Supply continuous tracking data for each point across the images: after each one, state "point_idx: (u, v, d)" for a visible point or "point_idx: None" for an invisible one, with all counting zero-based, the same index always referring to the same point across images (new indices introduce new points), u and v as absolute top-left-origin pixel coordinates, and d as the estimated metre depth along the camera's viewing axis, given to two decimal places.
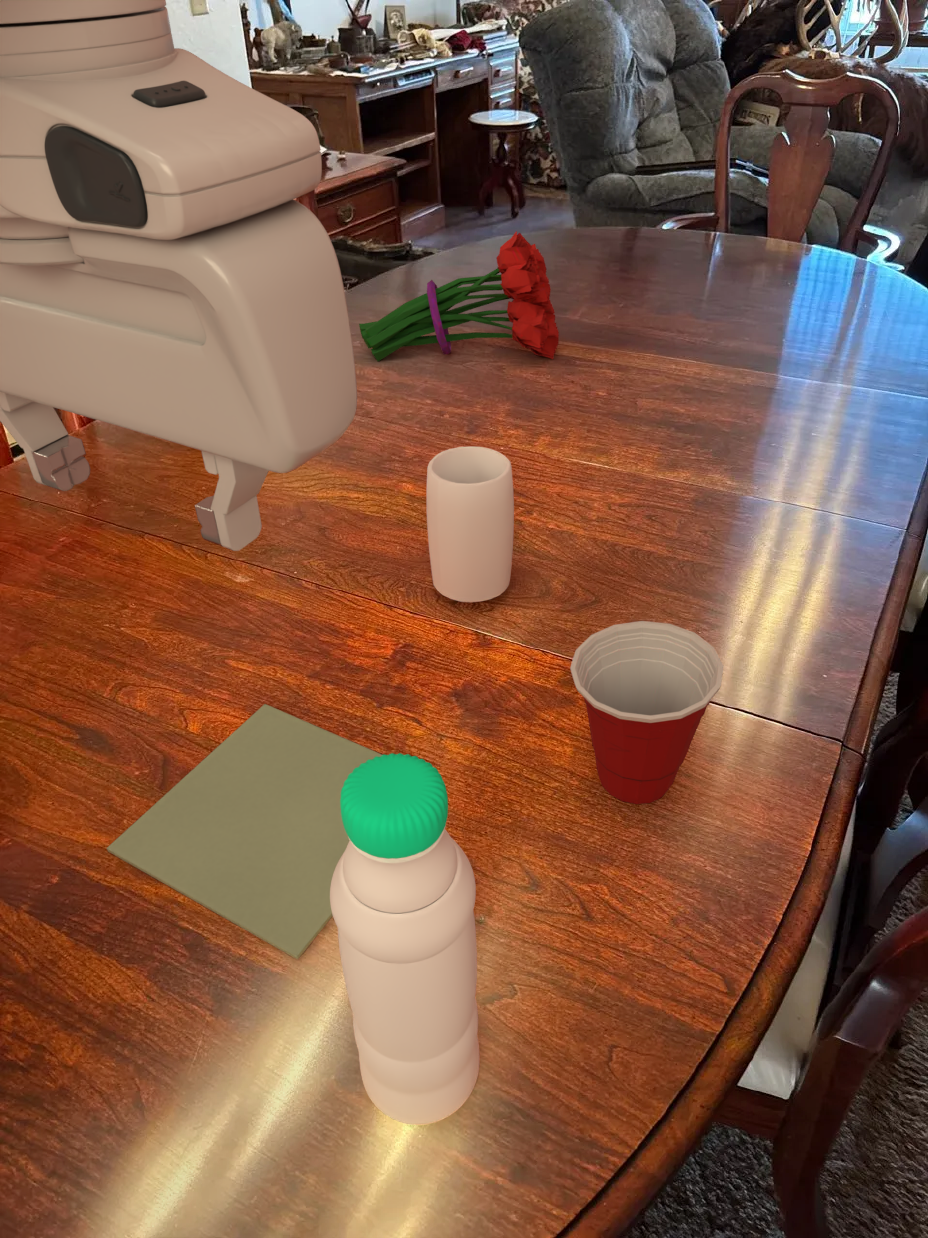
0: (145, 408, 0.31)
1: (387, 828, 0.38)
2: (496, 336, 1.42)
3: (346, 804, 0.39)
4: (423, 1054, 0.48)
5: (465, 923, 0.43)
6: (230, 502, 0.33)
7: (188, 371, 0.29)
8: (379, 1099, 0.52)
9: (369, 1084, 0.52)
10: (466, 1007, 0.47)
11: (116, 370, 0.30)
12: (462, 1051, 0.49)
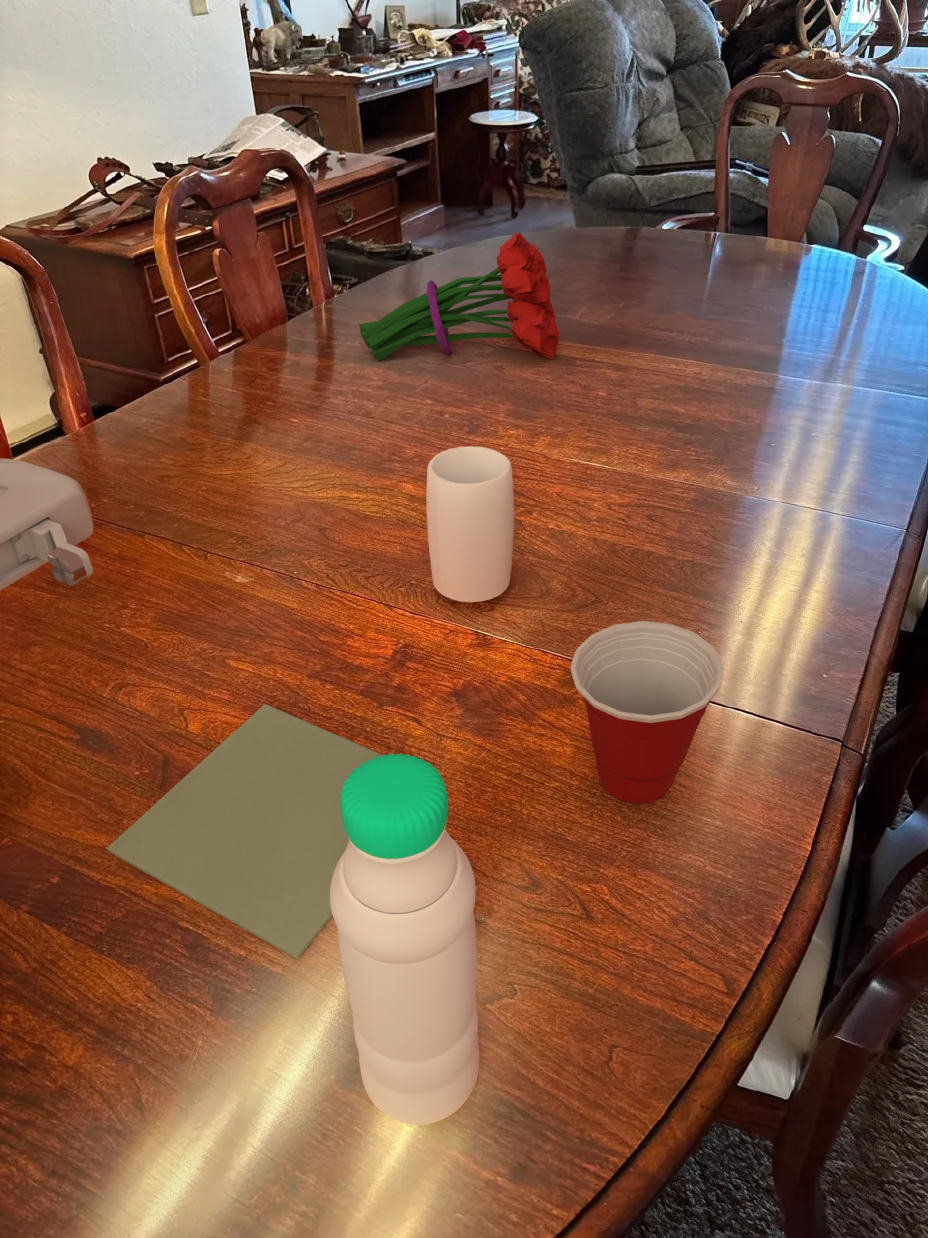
0: None
1: (387, 828, 0.38)
2: (496, 336, 1.42)
3: (345, 805, 0.39)
4: (423, 1054, 0.48)
5: (465, 923, 0.43)
6: (64, 534, 0.55)
7: (6, 498, 0.56)
8: (379, 1099, 0.52)
9: (369, 1084, 0.52)
10: (466, 1007, 0.47)
11: None
12: (462, 1051, 0.49)
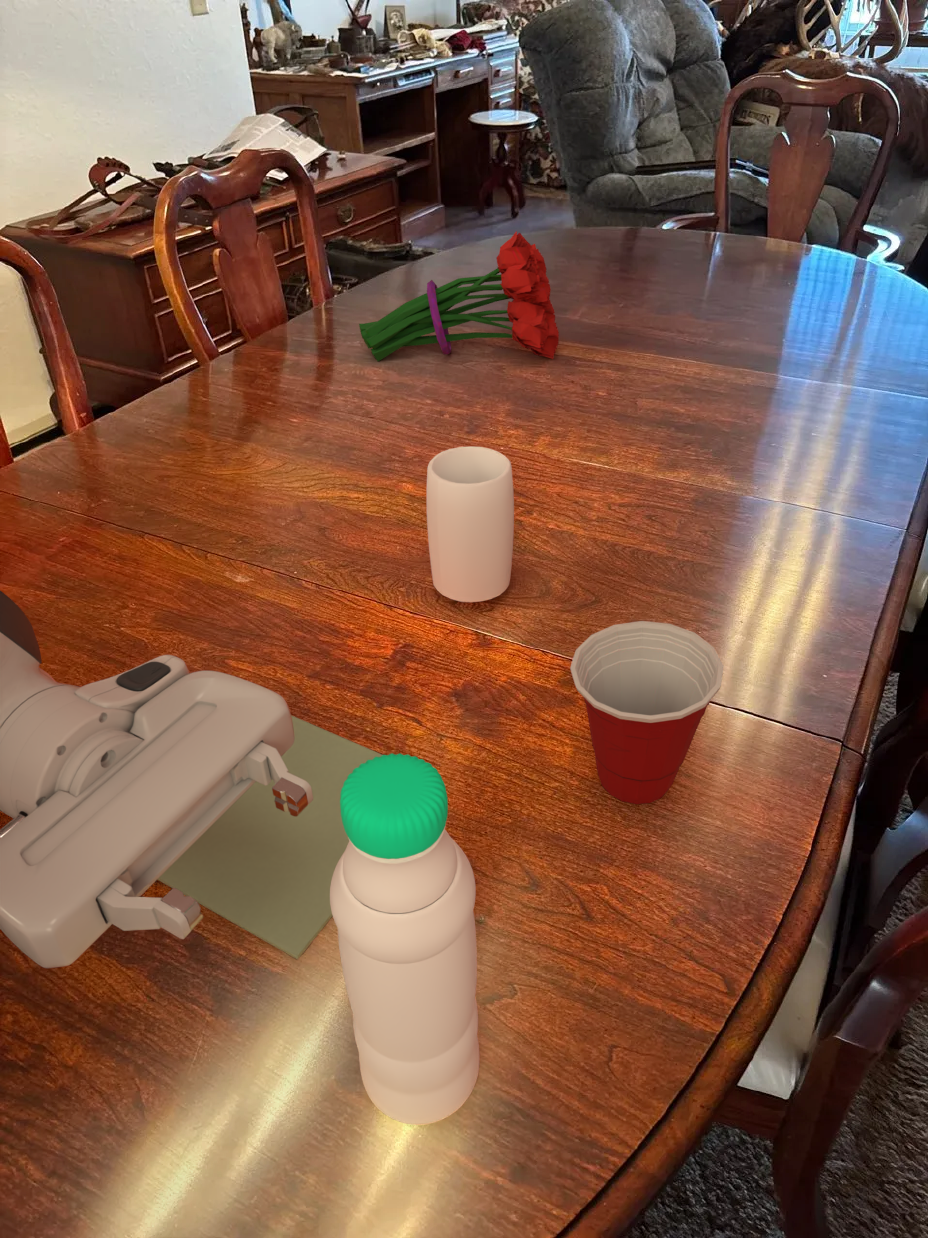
0: (213, 753, 0.55)
1: (387, 828, 0.38)
2: (496, 336, 1.42)
3: (345, 805, 0.39)
4: (423, 1055, 0.48)
5: (465, 923, 0.43)
6: None
7: (219, 719, 0.57)
8: (379, 1099, 0.52)
9: (369, 1084, 0.52)
10: (466, 1007, 0.47)
11: (187, 758, 0.55)
12: (462, 1051, 0.49)
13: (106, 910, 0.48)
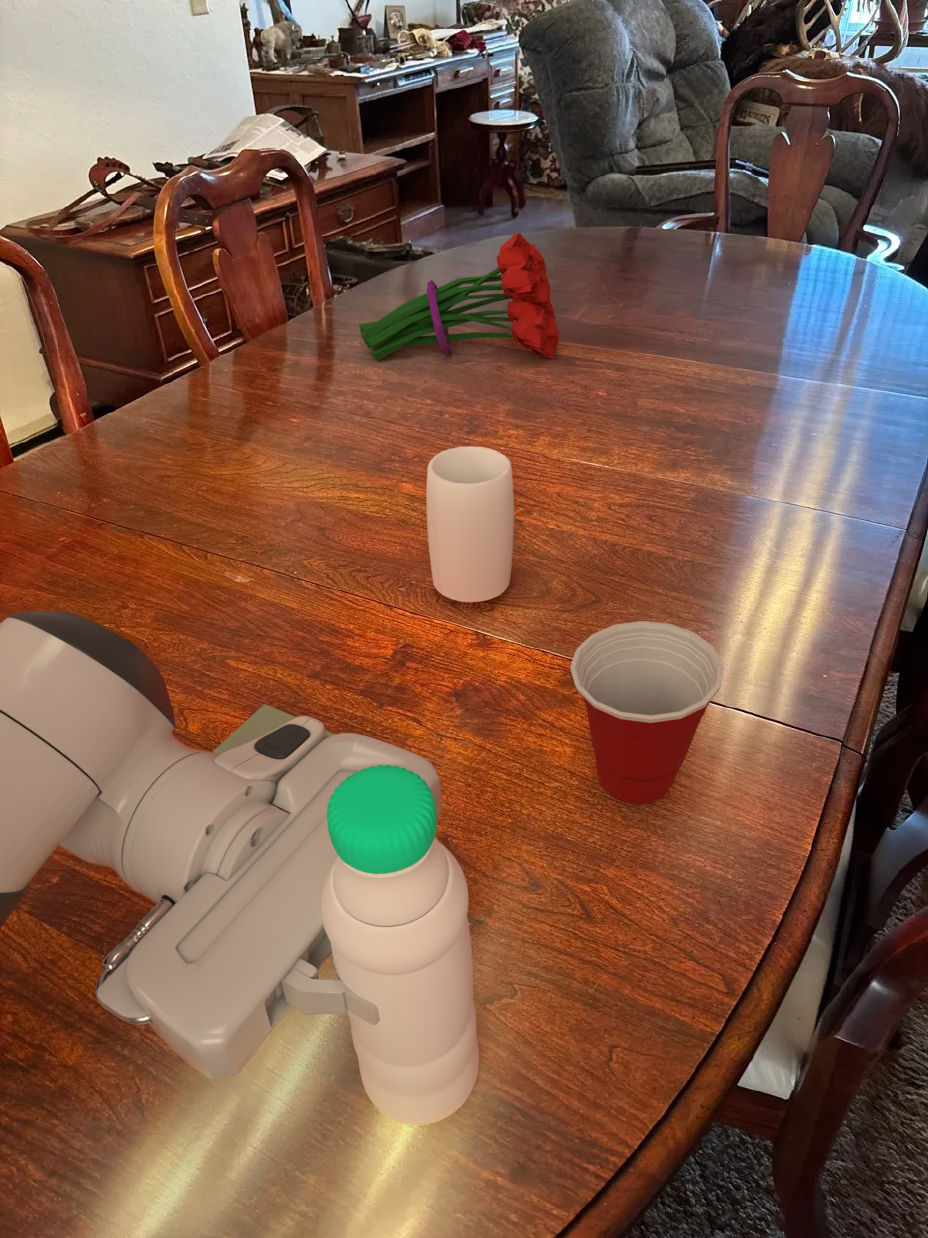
0: None
1: (374, 844, 0.38)
2: (496, 336, 1.42)
3: (332, 820, 0.39)
4: (419, 1060, 0.47)
5: (458, 933, 0.43)
6: None
7: None
8: (378, 1101, 0.52)
9: (368, 1086, 0.52)
10: (462, 1012, 0.47)
11: None
12: (459, 1054, 0.49)
13: (290, 993, 0.45)
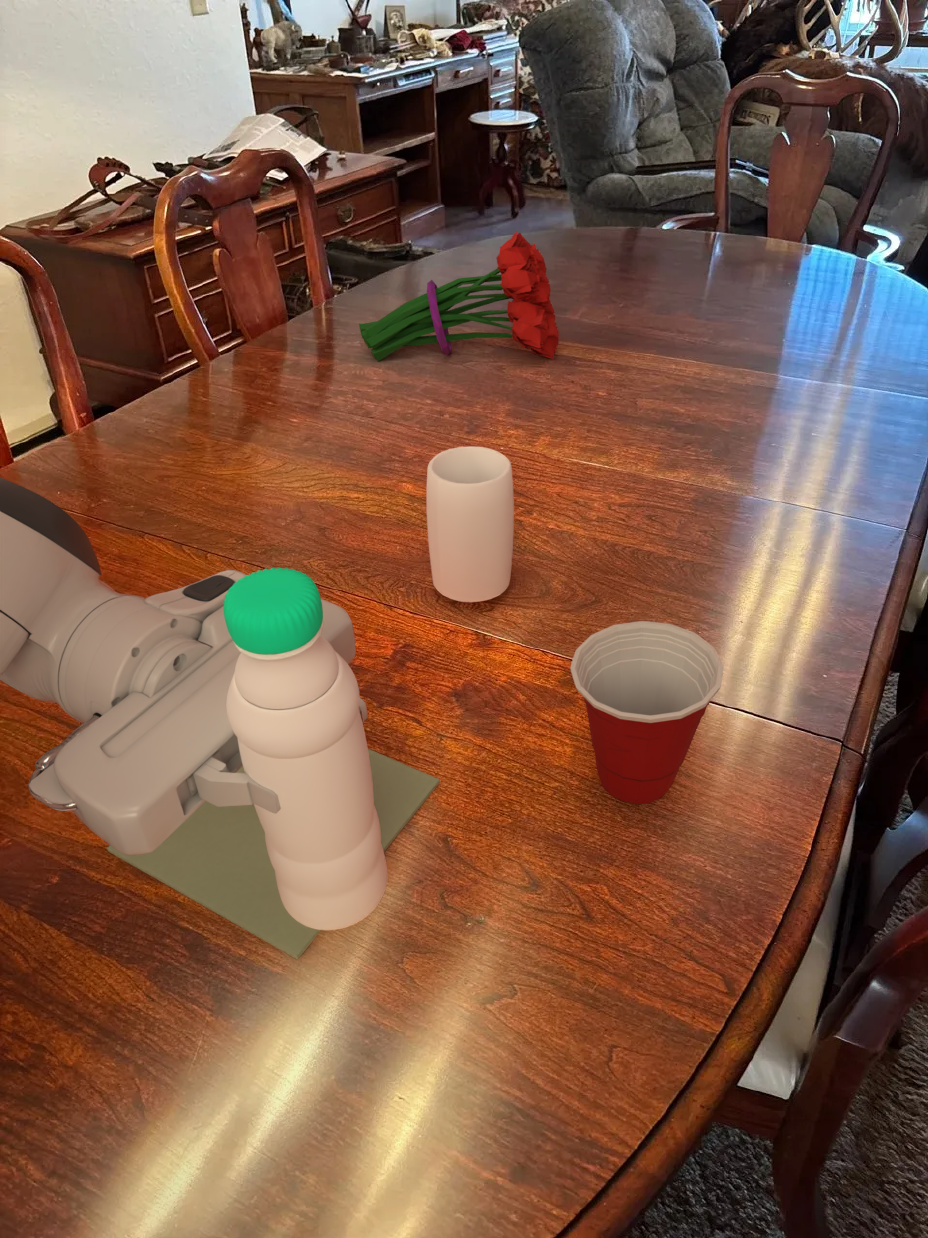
0: None
1: (260, 623, 0.43)
2: (496, 336, 1.42)
3: (226, 607, 0.44)
4: (322, 855, 0.53)
5: (346, 724, 0.48)
6: None
7: None
8: (291, 906, 0.57)
9: (282, 893, 0.57)
10: (359, 812, 0.53)
11: None
12: (361, 857, 0.55)
13: (201, 786, 0.50)
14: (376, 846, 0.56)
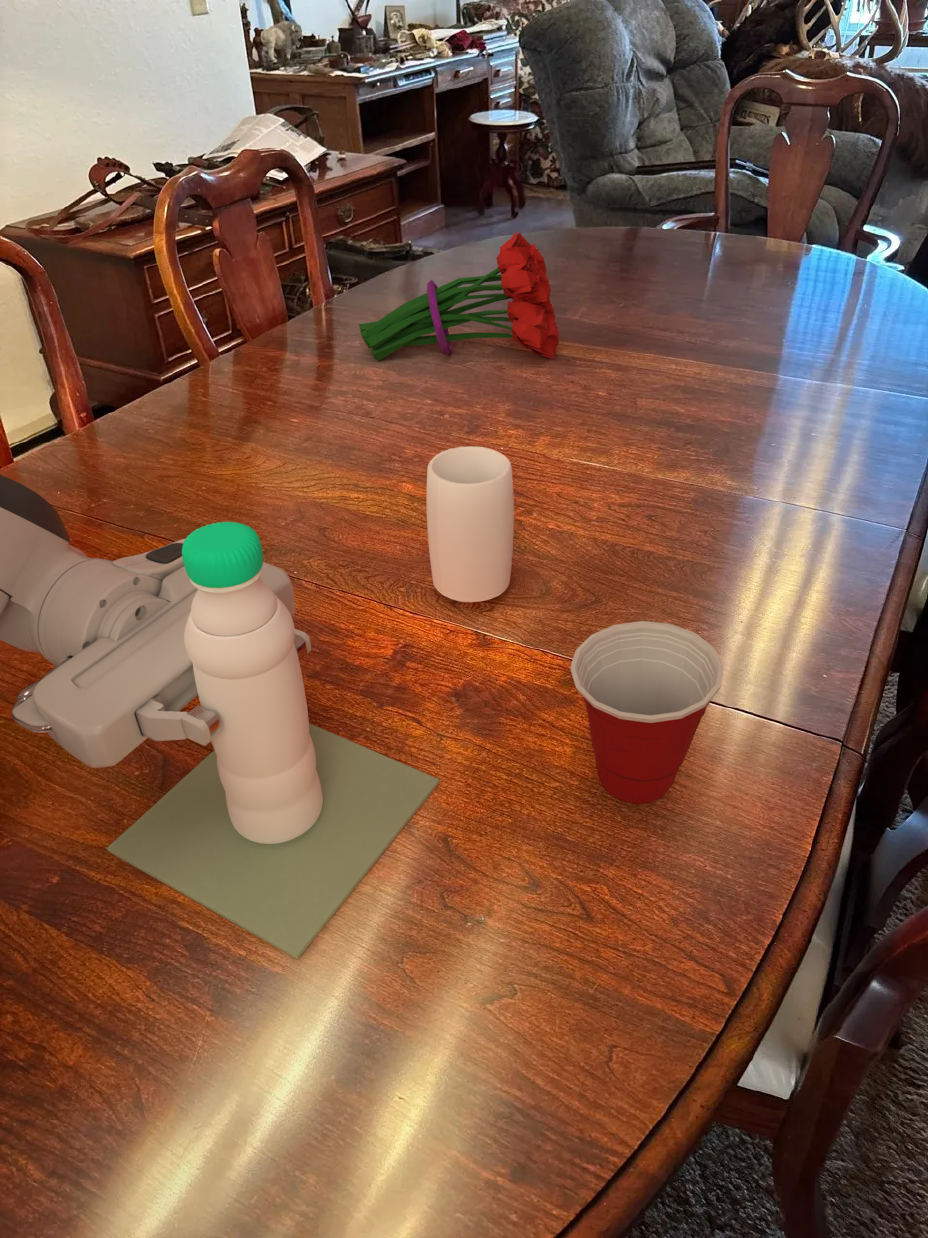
0: None
1: (210, 561, 0.54)
2: (496, 336, 1.42)
3: (184, 549, 0.55)
4: (262, 770, 0.63)
5: (281, 652, 0.59)
6: None
7: None
8: (238, 822, 0.67)
9: (231, 811, 0.67)
10: (294, 734, 0.63)
11: None
12: (296, 776, 0.65)
13: (142, 723, 0.59)
14: (310, 770, 0.66)
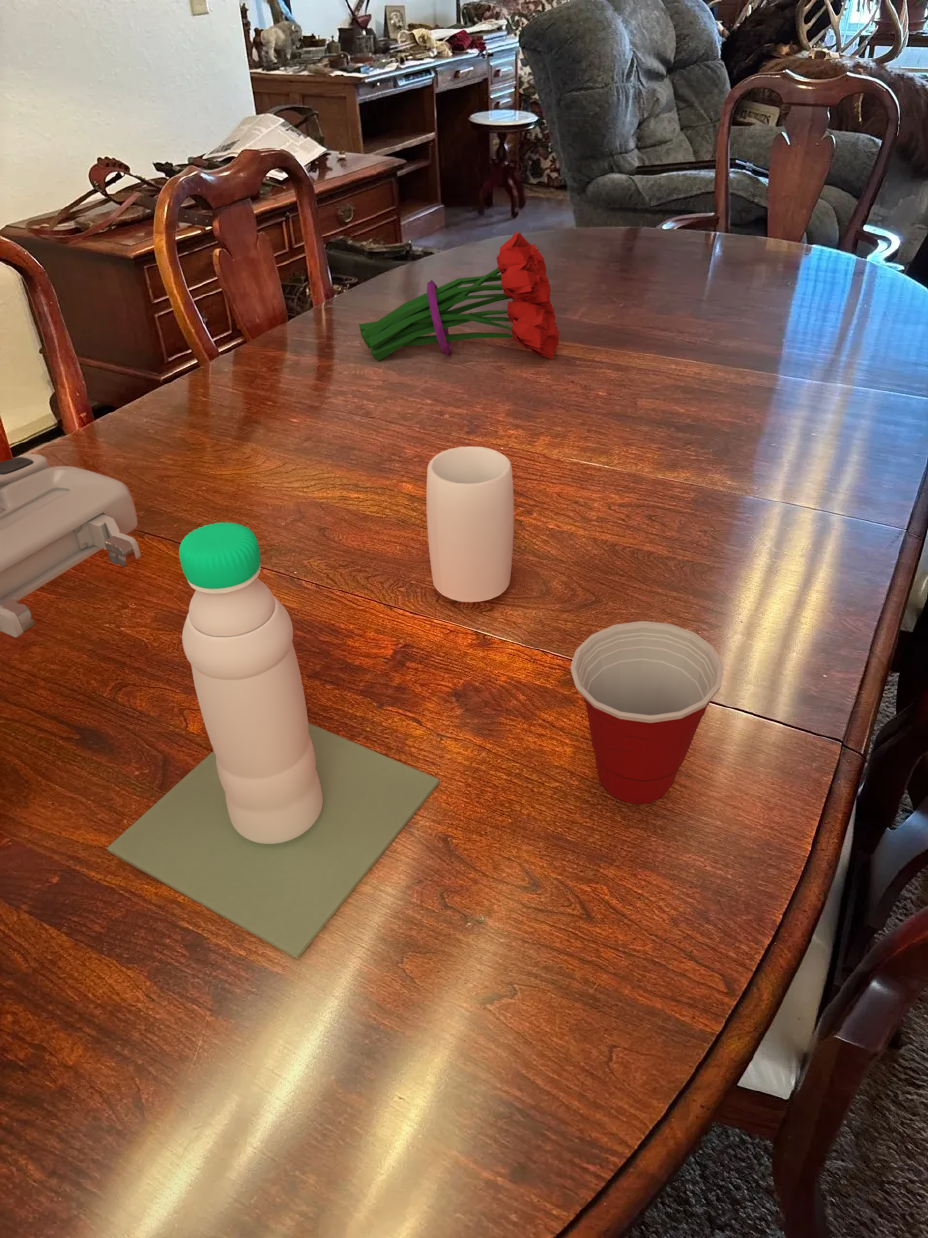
0: (59, 517, 0.68)
1: (207, 561, 0.54)
2: (496, 336, 1.42)
3: (181, 549, 0.55)
4: (261, 771, 0.63)
5: (279, 653, 0.58)
6: (117, 526, 0.68)
7: (69, 497, 0.70)
8: (238, 822, 0.67)
9: (230, 811, 0.67)
10: (293, 735, 0.63)
11: (37, 520, 0.67)
12: (295, 776, 0.65)
13: None
14: (310, 770, 0.66)
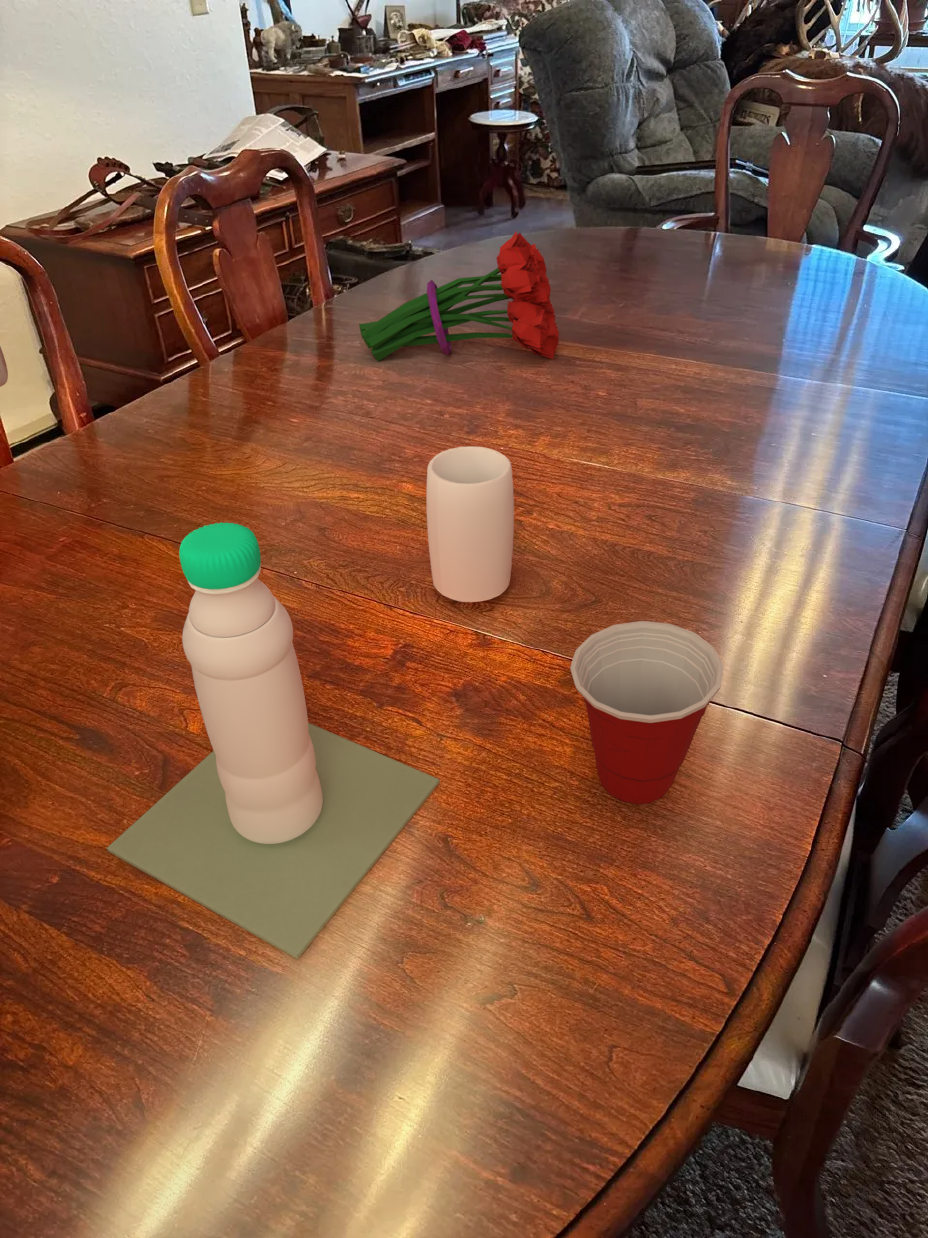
0: None
1: (207, 562, 0.54)
2: (496, 336, 1.42)
3: (181, 550, 0.55)
4: (261, 771, 0.63)
5: (279, 653, 0.58)
6: None
7: None
8: (238, 822, 0.67)
9: (230, 811, 0.67)
10: (293, 735, 0.63)
11: None
12: (295, 776, 0.65)
13: None
14: (310, 770, 0.66)
